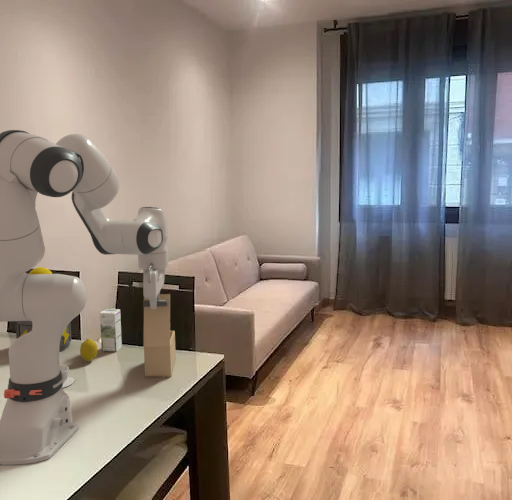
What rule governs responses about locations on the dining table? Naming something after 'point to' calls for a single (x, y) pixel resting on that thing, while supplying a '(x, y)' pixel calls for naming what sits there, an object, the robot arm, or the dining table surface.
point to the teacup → (66, 376)
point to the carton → (160, 359)
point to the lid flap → (157, 322)
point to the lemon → (88, 350)
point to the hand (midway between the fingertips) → (154, 306)
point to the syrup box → (110, 330)
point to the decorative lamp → (26, 326)
